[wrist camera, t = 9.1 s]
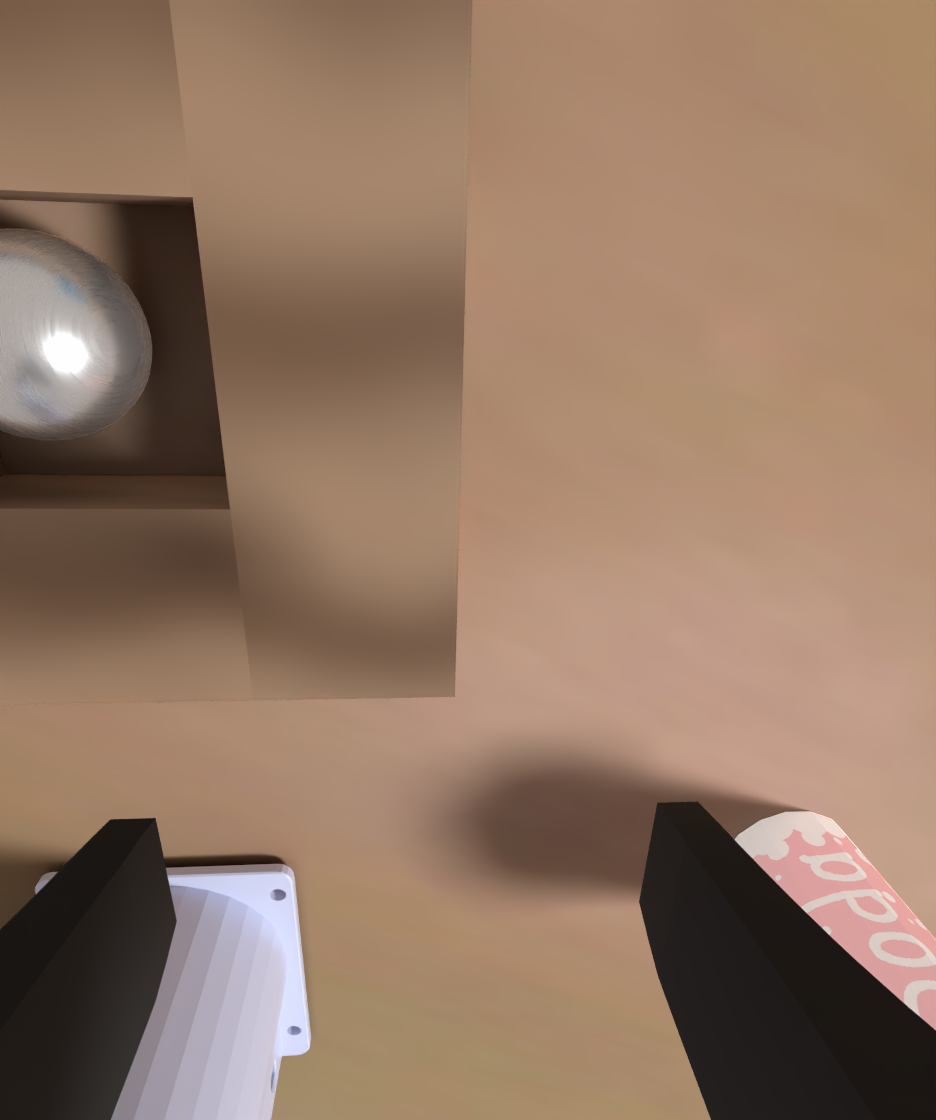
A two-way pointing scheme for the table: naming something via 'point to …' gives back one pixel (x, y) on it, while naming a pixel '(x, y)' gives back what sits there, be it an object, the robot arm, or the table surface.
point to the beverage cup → (848, 902)
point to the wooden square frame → (258, 349)
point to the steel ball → (66, 339)
